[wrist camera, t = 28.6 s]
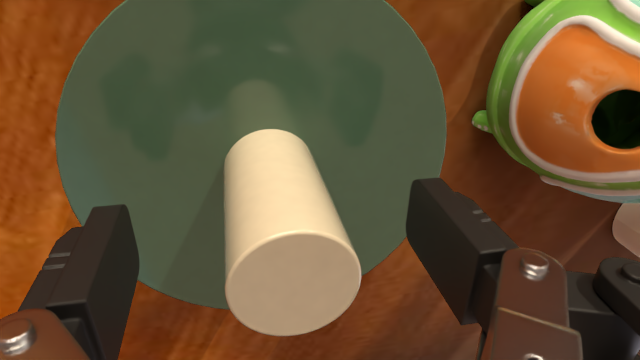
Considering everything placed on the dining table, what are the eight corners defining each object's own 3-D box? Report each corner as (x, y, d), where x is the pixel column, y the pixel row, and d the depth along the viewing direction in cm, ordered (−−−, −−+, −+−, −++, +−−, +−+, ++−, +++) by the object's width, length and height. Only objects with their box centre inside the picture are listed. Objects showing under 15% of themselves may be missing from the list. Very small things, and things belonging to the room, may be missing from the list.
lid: (7, -50, 11) (-243, -44, 5) (460, -43, 14) (652, -35, 8) (115, 310, 18) (59, 502, 12) (411, 270, 20) (495, 411, 14)
